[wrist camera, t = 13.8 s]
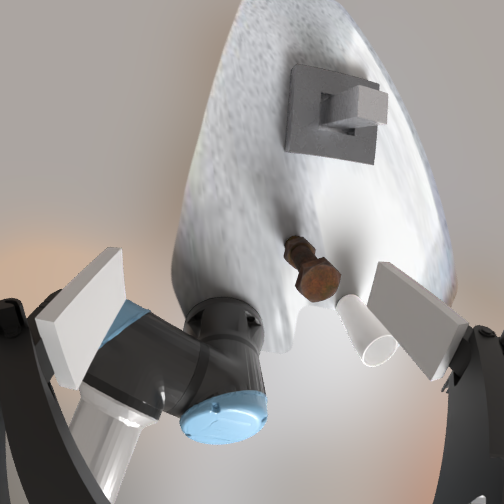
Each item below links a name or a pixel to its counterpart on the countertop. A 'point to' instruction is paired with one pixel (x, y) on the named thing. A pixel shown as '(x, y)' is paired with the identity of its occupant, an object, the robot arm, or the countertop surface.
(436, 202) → the countertop surface
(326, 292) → the bolt
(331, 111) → the peg
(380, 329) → the drinking glass
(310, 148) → the socket block
